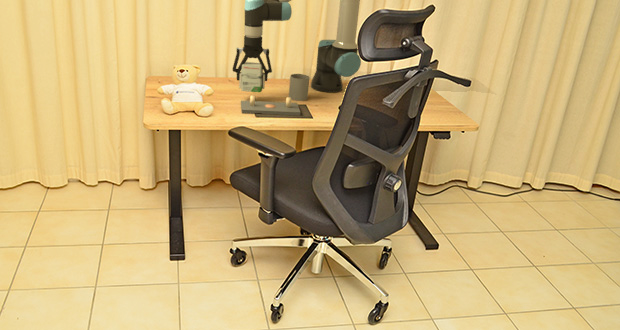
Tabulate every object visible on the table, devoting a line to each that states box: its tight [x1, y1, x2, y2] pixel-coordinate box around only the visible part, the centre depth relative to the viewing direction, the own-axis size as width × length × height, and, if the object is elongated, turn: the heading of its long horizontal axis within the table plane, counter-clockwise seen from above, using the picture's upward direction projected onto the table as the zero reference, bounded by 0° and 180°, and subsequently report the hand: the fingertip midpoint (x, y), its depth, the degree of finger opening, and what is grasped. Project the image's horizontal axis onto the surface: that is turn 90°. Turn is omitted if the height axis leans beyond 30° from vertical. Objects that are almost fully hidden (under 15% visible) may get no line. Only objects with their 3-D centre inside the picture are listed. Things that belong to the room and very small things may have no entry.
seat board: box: [240, 95, 301, 117], centre depth 251 cm, size 24×12×6 cm, turn 98°
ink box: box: [240, 61, 264, 93], centre depth 257 cm, size 9×5×12 cm, turn 84°
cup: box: [288, 73, 310, 102], centre depth 268 cm, size 8×8×10 cm
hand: (251, 87), depth 258 cm, fingers closed on ink box, 9 cm apart
